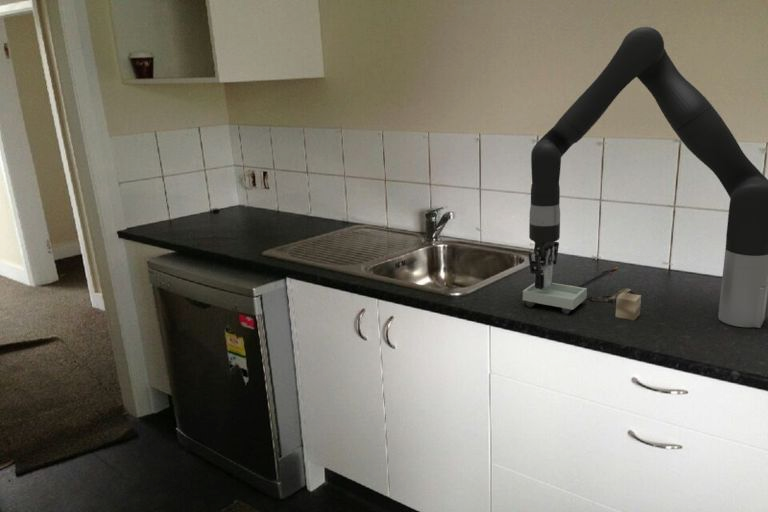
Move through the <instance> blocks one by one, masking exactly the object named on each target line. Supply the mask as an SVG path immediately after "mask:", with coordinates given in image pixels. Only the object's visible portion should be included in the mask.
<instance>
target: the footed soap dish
mask: <svg viewBox="0 0 768 512" xmlns="http://www.w3.org/2000/svg"><path fill="white" fill-rule="evenodd" d="M587 294H588V288H586V287H578V286H575V285H569V284H562V283H556V282H552V288H551V289H549V290H539V289H536V288H535V282H534V283H532V284H531V285H529V286H528V287H526V288H525V289H523V290H522V301H525V304H526V306H527V307H528V308H532V307H534V306H535V305H536V304H539V305H545V306H549V307H550V306H552V307H557V308H561V312H562V314H564V315H568V314H569V313H571V312H572V310H574V309H576V308H577V307H578V306H579V305H580V304H582V303H583V302H584V301H585V300H586V299H588V298H587V296H588V295H587Z"/></svg>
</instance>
